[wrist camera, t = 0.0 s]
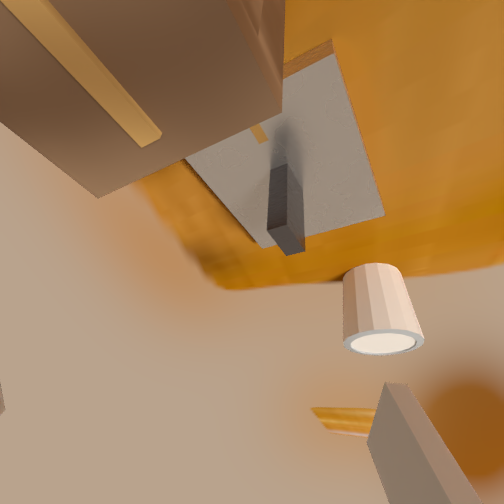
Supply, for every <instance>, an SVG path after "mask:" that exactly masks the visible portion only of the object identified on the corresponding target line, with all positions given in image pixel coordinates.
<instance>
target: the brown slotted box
mask: <svg viewBox="0 0 504 504" xmlns="http://www.w3.org/2000/svg"><path fill="white" fill-rule="evenodd" d="M284 24H285V0H0V122H1V123H3V124H4V125H5V126H6V127H8V128H9V129H10V130H11V131H13V132H14V133H15V134H17V135H18V136H19V137H20V138H22V139H23V140H24V141H25V142H27V143H28V144H29V145H31V146H32V147H33V148H34V149H36V150H37V151H38V152H39V153H41V154H42V155H43V156H45V157H46V158H47V159H48V160H50V161H51V162H52V163H53V164H55V165H56V166H57V167H58V168H60V169H61V170H62V171H64V172H65V173H66V174H68V175H69V176H70V177H71V178H73V179H74V180H75V181H76V182H78V183H79V184H80V185H81V186H83V187H84V188H85V189H87V190H88V191H89V192H90V193H91V194H93V195H94V196H95V197H97V198H100V197H102V196H105V195H107V194H109V193H111V192H113V191H115V190H117V189H119V188H122V187H124V186H126V185H128V184H130V183H132V182H135V181H137V180H139V179H141V178H143V177H145V176H147V175H149V174H152V173H154V172H156V171H158V170H160V169H162V168H164V167H167V166H169V165H171V164H173V163H175V162H177V161H179V160H182V159H184V158H186V157H188V156H190V155H192V154H194V153H197V152H199V151H201V150H203V149H205V148H207V147H209V146H212V145H214V144H216V143H218V142H220V141H222V140H224V139H227V138H229V137H231V136H233V135H235V134H237V133H239V132H241V131H244V130H246V129H248V128H250V127H252V126H254V125H256V124H259V123H261V122H263V121H265V120H267V119H269V118H271V117H274V116H276V115H278V114H280V113H282V94H283V59H284Z"/></svg>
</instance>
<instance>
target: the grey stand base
mask: <svg viewBox="0 0 504 504" xmlns="http://www.w3.org/2000/svg"><path fill="white" fill-rule="evenodd" d="M185 159H186V160H187V161H188V163H189V164H190V165H191V166H192V167H193V168H194V170H195V171H196V172H197V173H198V174H199V175H200V177H201V178H202V179H203V180H204V181H205V182H206V184H207V185H208V186H209V187H210V188H211V189H212V191H213V192H214V193H215V194H216V195H217V196H218V198H219V199H220V200H221V201H222V202H223V203H224V205H225V206H226V207H227V208H228V209H229V210H230V211H231V213H232V214H233V215H234V216H235V217H236V218H237V220H238V221H239V222H240V223H241V224H242V225H243V227H244V228H245V229H246V230H247V231H248V232H249V234H250V235H251V236H252V237H253V238H254V239H255V241H256V242H257V243H258V244H259V245H260V246H261V248H266V247H270V246H273V245H278V246H279V247H280V248H281V250H282V251H283V252H284V253H285V255H286V256H288V255H292V254H296V253H300V252H304V251H305V237H307V236H311V235H314V234H318V233H322V232H326V231H329V230H333V229H337V228H340V227H344V226H348V225H352V224H355V223H359V222H363V221H366V220H370V219H374V218H378V217H381V216H385V212H384V207H383V203H382V199H381V196H380V193H379V190H378V186H377V183H376V180H375V177H374V174H373V170H372V167H371V164H370V161H369V158H368V154H367V151H366V148H365V145H364V141H363V138H362V135H361V132H360V129H359V125H358V122H357V119H356V116H355V113H354V109H353V106H352V103H351V100H350V97H349V93H348V90H347V87H346V84H345V81H344V77H343V74H342V71H341V68H340V64H339V61H338V58H337V55H336V52H335V48H334V45H333V42H332V39H331V40H329V41H327V42H325V43H323V44H322V45H320V46H318V47H316V48H314V49H312V50H310V51H309V52H307V53H305V54H303V55H301V56H299V57H297V58H296V59H294V60H292V61H290V62H288V63H286V64H284V65H283V94H282V113H280V114H278V115H276V116H274V117H271V118H269V119H267V120H265V121H263V122H261V123H259V124H256V125H254V126H252V127H250V128H248V129H246V130H244V131H241V132H239V133H237V134H235V135H233V136H231V137H229V138H227V139H224V140H222V141H220V142H218V143H216V144H214V145H212V146H209V147H207V148H205V149H203V150H201V151H199V152H197V153H194V154H192V155H190V156H188V157H186V158H185Z"/></svg>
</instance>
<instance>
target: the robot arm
mask: <svg viewBox="0 0 504 504" xmlns="http://www.w3.org/2000/svg"><path fill="white" fill-rule="evenodd" d="M4 411H5V406H4V400H3V395H2V390H1V384H0V415H1V414H2V413H3V412H4ZM367 445H368V447H369V450H370V453H371V455H372V458H373V461H374V463H375V466H376V469H377V471H378V474H379V477H380V479H381V482H382V485H383V487H384V490H385V492H386V495H387V498H388V501H389V503H390V504H483V503H482V501H481V500H480V498H479V497H478V495H477V494H476V492H475V491H474V489H473V487H472V486H471V484H470V483H469V481H468V480H467V478H466V476H465V475H464V473H463V472H462V470H461V468H460V467H459V465H458V464H457V462H456V461H455V459H454V457H453V456H452V454H451V453H450V451H449V450H448V448H447V447H446V445H445V443H444V442H443V440H442V439H441V437H440V435H439V434H438V432H437V431H436V429H435V428H434V426H433V425H432V423H431V421H430V420H429V418H428V417H427V415H426V413H425V412H424V410H423V409H422V407H421V406H420V404H419V403H418V401H417V399H416V398H415V396H414V395H413V393H412V391H411V390H410V388H409V387H408V385H407V384H399V383H388V382H385V384H384V387H383V390H382V393H381V397H380V400H379V403H378V407H377V410H376V413H375V417H374V420H373V423H372V427H371V430H370V433H369V437H368V440H367Z"/></svg>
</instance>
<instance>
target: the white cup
mask: <svg viewBox="0 0 504 504" xmlns="http://www.w3.org/2000/svg"><path fill="white" fill-rule="evenodd" d="M423 342H424V336H423V334H422V331H421V328H420V325H419V323H418V320H417V317H416V314H415V312H414V309H413V306H412V303H411V300H410V297H409V295H408V292H407V289H406V287H405V284H404V281H403V278H402V275H401V272H400V271H399V270H398V269H397V268H396V267H394V266H391V265H389V264H382V263H371V264H364V265H361V266H358V267H354V268H353V269H351V270H350V271H348V272H347V273H346V274H345V276H344V277H343V343H344V347H345V348H346V349H348V350H350V351H352V352H355V353H359V354H365V355H393V354H400V353H405V352H408V351H412V350H415V349H416V348H418V347H419V346H421V345H423Z"/></svg>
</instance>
